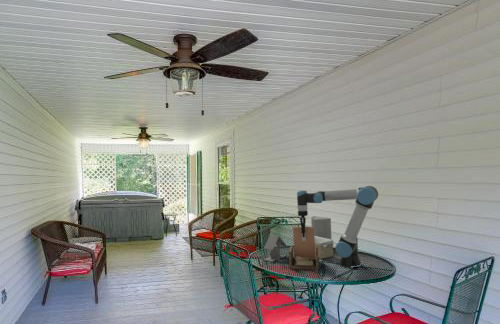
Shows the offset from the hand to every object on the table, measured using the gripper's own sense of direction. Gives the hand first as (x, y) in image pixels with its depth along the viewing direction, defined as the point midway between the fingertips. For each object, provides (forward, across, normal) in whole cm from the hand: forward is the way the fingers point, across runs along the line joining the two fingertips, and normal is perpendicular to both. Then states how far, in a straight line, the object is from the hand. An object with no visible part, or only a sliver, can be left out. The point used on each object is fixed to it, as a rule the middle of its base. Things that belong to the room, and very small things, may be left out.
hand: (304, 240), depth 256 cm
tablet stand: (+19, -14, -25) cm, 35 cm away
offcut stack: (+18, +9, 0) cm, 20 cm away
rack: (+19, +5, 0) cm, 20 cm away
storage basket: (+20, -26, +9) cm, 34 cm away
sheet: (+14, 0, 0) cm, 14 cm away
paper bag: (+19, -51, +10) cm, 56 cm away
